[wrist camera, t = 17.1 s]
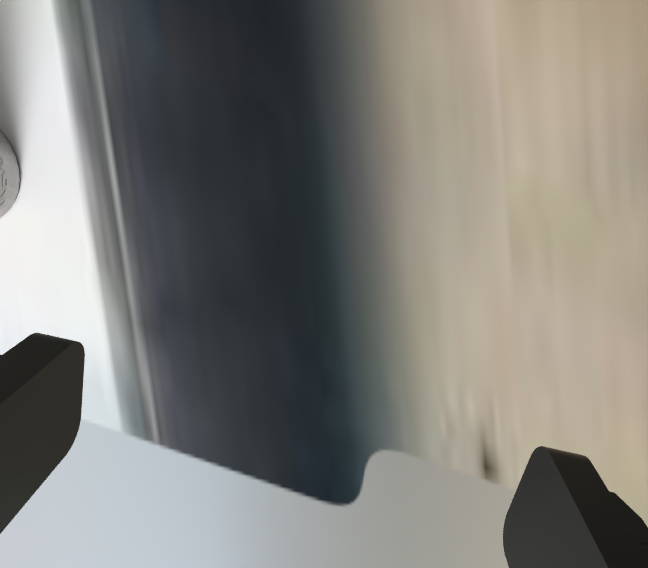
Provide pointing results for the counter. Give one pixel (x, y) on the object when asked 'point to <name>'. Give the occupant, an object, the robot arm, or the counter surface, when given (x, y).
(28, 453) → the robot arm
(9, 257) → the counter surface
